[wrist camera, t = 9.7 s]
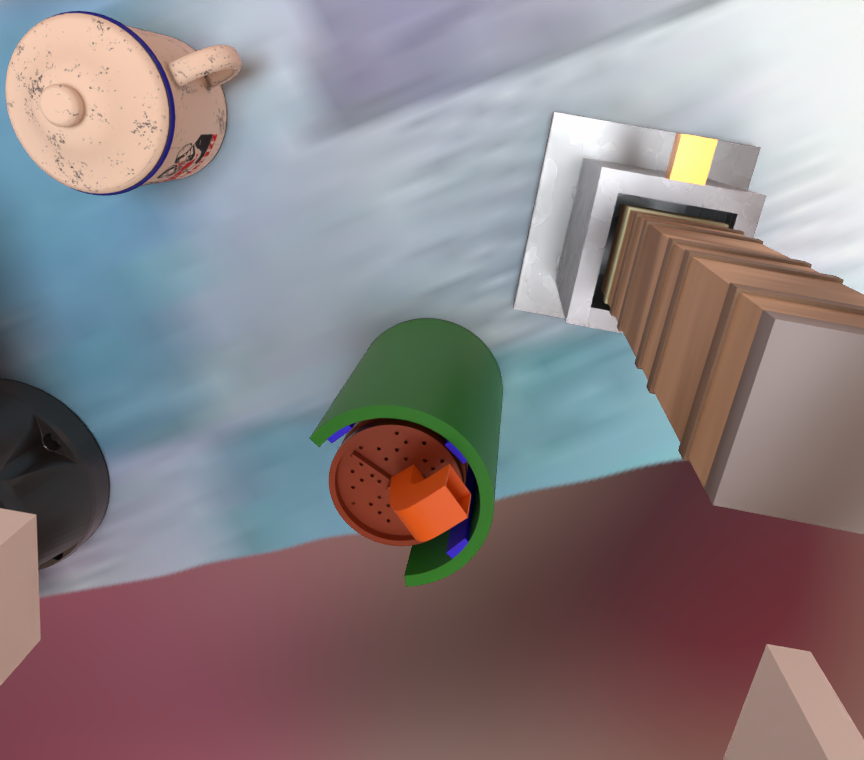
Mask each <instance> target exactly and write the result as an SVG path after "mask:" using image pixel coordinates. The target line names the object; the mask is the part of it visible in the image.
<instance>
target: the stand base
mask: <svg viewBox="0 0 864 760" xmlns="http://www.w3.org/2000/svg"><path fill="white" fill-rule="evenodd" d="M760 148H761V147H755V146H749V145H743V144H737V143H732V142H726V141H720V140H716V139H710V138H704V137H699V136H693V135H687V134H680V133H673V132H668V131H662V130H656V129H650V128H644V127H638V126H633V125H627V124H621V123H615V122H609V121H604V120H598V119H592V118H586V117H580V116H574V115H569V114H563V113H557V112H553V116H552V121H551V126H550V131H549V136H548V141H547V146H546V150H545V155H544V160H543V165H542V170H541V175H540V179H539V184H538V189H537V194H536V199H535V204H534V209H533V213H532V218H531V223H530V228H529V233H528V238H527V242H526V247H525V252H524V257H523V262H522V267H521V272H520V276H519V281H518V286H517V291H516V296H515V301H514V309H515V310H521V311H526V312H532V313H537V314H543V315H548V316H553V317H559V318H564V319H565V321H566V323H569V324H574V325H580V326H585V327H591V328H596V329H601V330H607V331H612V332H618V333H623V332H622V331H618V329H617V324H618V321H617V319H616V317H614V316H611V315H610V309H611V308H610V306H609V304H605V303H604V301H603V299H604V294H603V292H602V291H601V286H602V282H603V278H604V274H605V270H606V266H607V262H608V258H609V254H610V250H611V246H612V242H613V238H614V233H615V229H616V225H617V221H618V217H619V213H620V209H621V205H622V203H623V204H628V205H634V206H640V207H645V208H651V209H657V210H662V211H668V212H673V213H679V214H685V215H690V216H696V217H702V218H707V219H711V220H713V221H716V222H722V223H726V224H728V225H729V226H728V228H730V229H735V230H740V231H742V232H745V233H744V236H746V237H749V238H753V236H754V233H755V230H756V227H757V224H758V220H759V217H760V214H761V211H762V208H763V205H764V201H765V198H766V196H765V195H762V194H758V193H755V192H752V191H748V187H749V184H750V181H751V177H752V174H753V171H754V167H755V164H756V161H757V158H758V154H759V151H760ZM623 334H624V333H623Z"/></svg>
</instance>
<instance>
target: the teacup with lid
mask: <svg viewBox="0 0 864 760" xmlns="http://www.w3.org/2000/svg"><path fill="white" fill-rule="evenodd" d="M241 66H242V64H241V60H240V58H239V55H238V53H237V51H236V50H235V49H234V48H233V47H231V46H227V45H216V46H211V47H207V48H204V49H200V50H198V51H195V50H194V49H193V48H191V47H190V46H188V45H187V44H185V43H183V42H181V41H179V40H177V39H175V38H172V37H169V36H165V35H161V34H157V33H153V32H149V31H145V30H141V29H137V28H133V27H129V26H125V25H123V24H122V23H120V22H118V21H116V20H114V19H112V18H109V17H107V16H104V15H101V14H97V13H92V12H85V11H72V12H65V13H60V14H57V15H54V16H52V17H49V18H47V19H45V20H43V21H42V22H40V23H38V24H37V25H35V26H34V27H33V28H32V29H30V30H29V31H28V32H27V33H26V34H25V35H24V37H23V38H22V39H21V41H20V42H19V44H18V45H17V47H16V48H15V51H14V53H13V55H12V57H11V60H10V63H9V66H8V70H7V76H6V102H7V108H8V113H9V117H10V120H11V123H12V126H13V128H14V131H15V133H16V135H17V137H18V139H19V141H20V143H21V144H22V146H23V147H24V149H25V150H26V152H27V153H28V155H29V156H30V157H31V158H32V159H33V161H34V162H35V163H36V164H37V165H38V166H39V167H40V168H41V169H42V170H43V171H45V172H46V173H47V174H48V175H50V176H51V177H52V178H54V179H55V180H57V181H59V182H60V183H62V184H64V185H66V186H68V187H70V188H72V189H75V190H77V191H80V192H84V193H88V194H93V195H116V194H121V193H125V192H128V191H131V190H133V189H135V188H137V187H139V186H142V185H147V184H153V183H159V182H165V181H171V180H177V179H181V178H185V177H188V176H191V175H193V174H195V173H197V172H198V171H200V170H201V169H203V168H204V167H205V166H206V165H207V164H208V163H209V162H210V161H211V160H212V159H213V157H214V156H215V155H216V153H217V151H218V150H219V148H220V146H221V143H222V140H223V138H224V134H225V129H226V119H227V115H226V103H225V98H224V94H223V91H222V88H221V85H222V84H224V83H225V82H227V81H229V80H230V79H232V78H233V77H235V76H236V75H237V74H238V73H239V71H240V69H241Z"/></svg>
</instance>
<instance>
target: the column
mask: <svg viewBox="0 0 864 760" xmlns="http://www.w3.org/2000/svg"><path fill="white" fill-rule="evenodd" d="M728 226H729V225H728V224H726V223H722V222H716V221H713V220H711V219H707V218H702V217H696V216H690V215H685V214H679V213H673V212H668V211H662V210H657V209H651V208H645V207H640V206H634V205H628V204H623V203H622V205H621V209H620V213H619V217H618V221H617V225H616V229H615V233H614V238H613V242H612V246H611V250H610V254H609V258H608V262H607V266H606V270H605V274H604V278H603V282H602V286H601V291H602V292H603V294H604V299H603V301H604V303H605V304H609V306H610V308H611V309H610V315H611V316H614V317H616V319H617V321H618V324H617V329H618V331H622V332H623V333H624V335H625V337H626V339H627V341H628V343H629V344H630V346H631V348H632V350H633V352H634V354H635V356H636V361H635V365H636V367H637V369H643V371H644V373H645V375H646V377H647V379H648V383H647V389H648V391H649V393H652V394H655V395H656V396H657V398H658V400H659V402H660V404H661V406H662V408H663V410H664V412H665V414H666V416H667V418H668V420H669V422H670V423H671V425H672V427H673V429H674V431H675V433H676V435H677V437H678V439H679V441H680V446H679V450H678V451H679V453H680V455H681V457H682V459H683V460H685V461H690V462H691V464H692V466H693V468H694V469H695V472H696V474H697V475H698V477H699V479H700V481H701V483H702V485H703V487H704V488H705V491H706V493H707V495H708V497H709V499H710V501H711V502H712V504H713V505H716V506H721V507H726V508H731V509H736V510H742V511H747V512H752V513H757V514H762V515H768V516H772V517H778V518H783V519H788V520H793V521H798V522H803V523H809V524H814V525H819V526H824V527H829V528H835V529H839V530H845V531H850V532H855V533H860V534H864V295H863V294H861V293H859V292H857V291H855V290H853V289H851V288H849V287H847V286H845V285H843V284H842V283H843V279H841V278H839V277H836V276H833V275H827V274H822V273H819V272H817V271H815V270H813V269H811V264H809V263H807V262H805V261H800V260H794V259H790V258H788V257H786V256H784V255H782V254H780V253H778V252H776V251H774V250H772V249H770V248H768V247H766V246H764V245H762V244H763V241H761V240H759V239H755V238H749V237H746V236H744V233H745V232H742V231H740V230H735V229H730V228H728Z"/></svg>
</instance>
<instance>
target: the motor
mask: <svg viewBox="0 0 864 760" xmlns="http://www.w3.org/2000/svg"><path fill="white" fill-rule="evenodd" d="M502 395H503V385H502V378H501V373H500V370H499V367H498V364H497V362H496V360H495V358H494V356H493V355H492V353H491V352H490V350H489V349H488V348H487V346H486V345H485V344H484V343H483V342H482V341H481V340H480V339H479V338H478V337H477V336H475V335H474V334H473V333H471V332H470V331H468V330H467V329H465V328H463V327H461V326H459V325H457V324H454V323H451V322H448V321H444V320H439V319H414V320H409V321H406V322H403V323H400V324H397V325H395V326H393V327H391V328H390V329H388V330H386V331H385V332H384V333H382V334H381V335H380V336H379V337H378V338H377V339H376V340H375V341H374V342H373V343H372V344H371V346H370V347H369V349H368V350H367V352H366V353H365V355H364V356H363V358H362V359H361V361H360V362H359V364H358V365H357V367H356V368H355V370H354V371H353V373H352V374H351V376H350V377H349V379H348V380H347V382H346V383H345V385H344V386H343V388H342V390H341V391H340V393H339V394H338V396H337V397H336V399H335V400H334V402H333V403H332V405H331V406H330V408H329V409H328V411H327V412H326V414H325V415H324V417H323V418H322V420H321V421H320V423H319V424H318V426H317V427H316V429H315V430H314V432H313V434H312V435H311V437H310V438H309V439H311V440H312V441H313V442H314V443H315V444H316V445H317V446H318V447H320V446H321V445H322V444H323V443H324V442H325V441H326V440H327V439H328V440H329V441H330V442H331V443H333V442H334V441H336V440H337V439H339V438H340V437H341V436H343V435H344V434H346V433H347V432H348V431H349V432H348V433H347V435H346V437H345V438H344V440H343V442H342V444H341V446H340V448H339V449H338V451H337V453H336V455H335V457H334V459H333V461H332V464H331V467H330V472H329V489H330V494H331V498H332V501H333V503H334V505H335V507H336V509H337V511H338V513H339V514H340V515H341V517H342V518H343V519H344V521H345V522H346V523H347V524H348V525H349V526H350V527H351V528H353V529H354V530H355V531H357V532H358V533H359V534H361V535H363V536H364V537H367V538H368V539H371V540H373V541H375V542H379V543H382V544H386V545H393V546H411V545H412V548H411V552H410V556H409V560H408V564H407V568H406V572H405V575H404V577H405V582H406V586H417V585H423V584H427V583H431V582H434V581H437V580H440V579H442V578H445V577H447V576H448V575H451V574H452V573H454V572H456V571H457V570H458V569H460V568H461V567H462V566H464V565H465V564H466V563H467V562H469V561H470V559H472V557H473V556H474V555H475V554H476V553H477V551H478V550H479V549H480V547H481V546H482V544H483V543H484V541H485V539H486V537H487V535H488V532H489V529H490V526H491V523H492V517H493V511H494V499H495V486H496V473H497V460H498V447H499V434H500V421H501V408H502Z"/></svg>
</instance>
